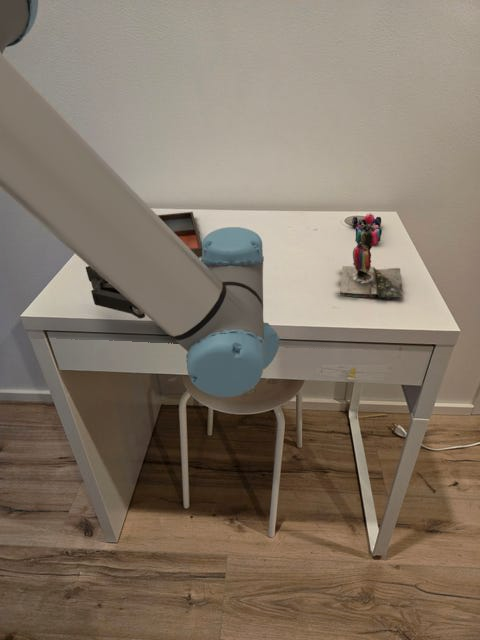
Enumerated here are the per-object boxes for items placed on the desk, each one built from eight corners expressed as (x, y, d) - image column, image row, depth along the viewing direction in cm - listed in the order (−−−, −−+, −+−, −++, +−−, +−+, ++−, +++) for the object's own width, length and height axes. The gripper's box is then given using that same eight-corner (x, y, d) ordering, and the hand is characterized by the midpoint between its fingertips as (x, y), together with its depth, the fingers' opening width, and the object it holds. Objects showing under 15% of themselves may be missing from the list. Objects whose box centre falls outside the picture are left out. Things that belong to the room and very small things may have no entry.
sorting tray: (118, 265, 92) (116, 257, 91) (120, 225, 108) (119, 218, 106) (203, 256, 94) (202, 248, 93) (193, 218, 110) (192, 211, 109)
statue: (340, 301, 82) (339, 227, 73) (342, 274, 89) (342, 204, 80) (402, 301, 79) (409, 225, 70) (399, 274, 86) (405, 201, 77)
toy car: (350, 223, 106) (352, 208, 103) (377, 223, 105) (380, 208, 103) (359, 246, 96) (361, 230, 94) (388, 246, 96) (392, 230, 94)
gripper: (128, 363, 63) (64, 303, 76) (250, 296, 76) (178, 255, 89) (118, 322, 59) (51, 266, 71) (250, 259, 72) (174, 220, 85)
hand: (121, 260), depth 80 cm, fingers open, 12 cm apart
